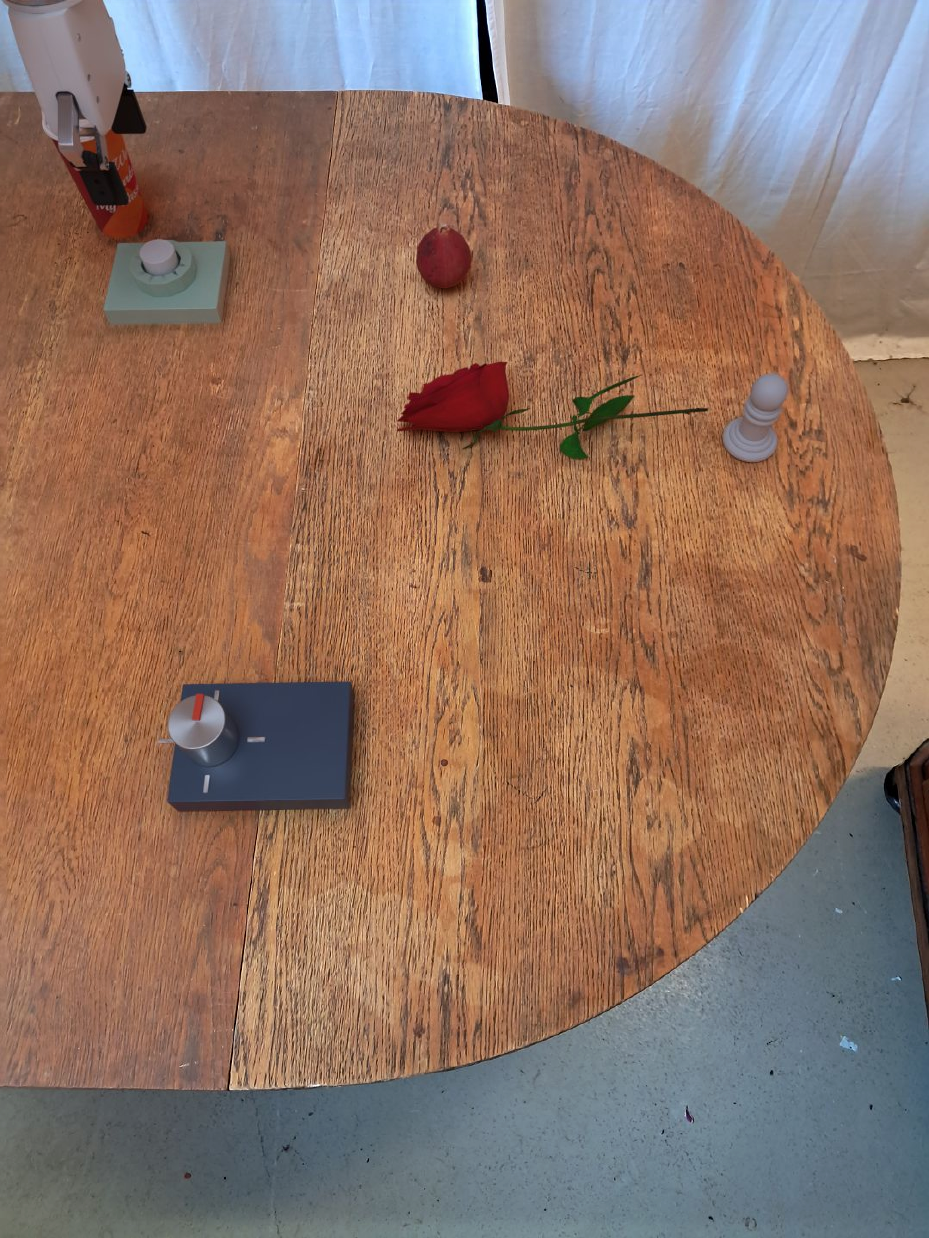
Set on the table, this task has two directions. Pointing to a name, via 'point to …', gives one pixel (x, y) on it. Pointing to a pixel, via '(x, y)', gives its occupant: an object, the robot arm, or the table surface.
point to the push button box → (169, 286)
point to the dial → (203, 730)
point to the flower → (501, 406)
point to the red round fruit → (443, 257)
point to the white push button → (159, 257)
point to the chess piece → (757, 420)
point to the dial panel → (273, 749)
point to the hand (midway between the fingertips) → (121, 166)
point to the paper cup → (133, 215)
